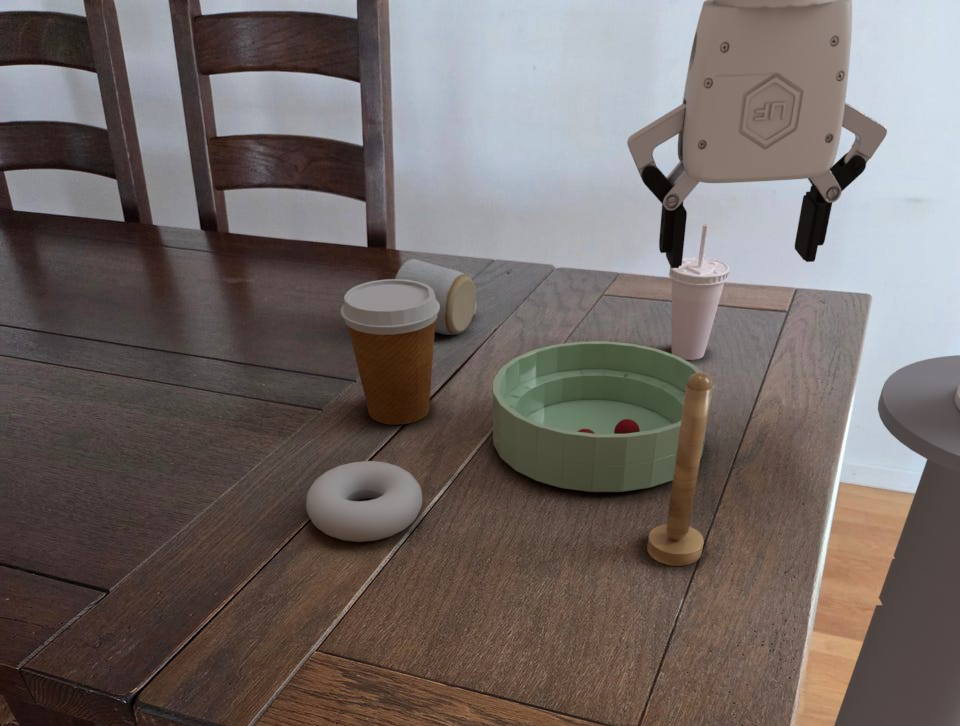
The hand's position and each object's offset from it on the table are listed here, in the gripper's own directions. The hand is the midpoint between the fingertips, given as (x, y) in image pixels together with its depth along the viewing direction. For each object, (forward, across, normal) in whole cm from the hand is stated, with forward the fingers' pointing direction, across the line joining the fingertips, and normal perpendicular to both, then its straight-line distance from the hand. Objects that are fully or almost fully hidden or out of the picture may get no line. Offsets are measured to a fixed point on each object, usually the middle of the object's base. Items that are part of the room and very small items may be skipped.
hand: (738, 258), depth 66 cm
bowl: (+20, -9, +9) cm, 24 cm away
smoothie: (+21, +4, +30) cm, 37 cm away
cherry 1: (+18, -10, +6) cm, 22 cm away
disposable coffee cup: (+20, -29, +17) cm, 39 cm away
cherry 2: (+18, -6, +8) cm, 21 cm away
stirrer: (+20, -4, -9) cm, 22 cm away
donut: (+20, -30, -3) cm, 36 cm away
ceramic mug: (+20, -25, +40) cm, 51 cm away
